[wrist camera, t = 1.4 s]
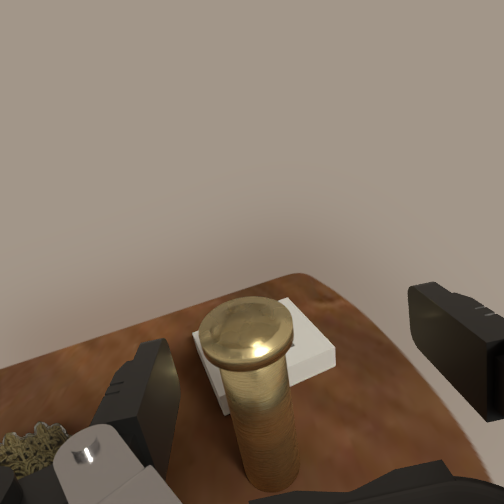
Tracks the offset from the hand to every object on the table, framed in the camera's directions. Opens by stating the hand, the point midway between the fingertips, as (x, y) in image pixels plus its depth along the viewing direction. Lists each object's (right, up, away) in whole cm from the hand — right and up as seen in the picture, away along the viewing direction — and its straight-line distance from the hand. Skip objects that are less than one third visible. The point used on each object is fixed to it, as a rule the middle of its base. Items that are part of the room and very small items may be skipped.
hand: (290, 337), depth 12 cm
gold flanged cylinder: (0, -14, +17) cm, 22 cm away
